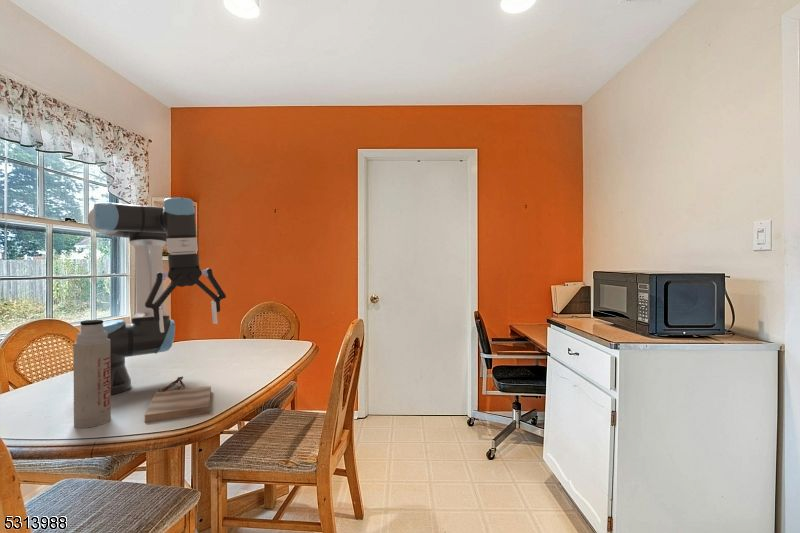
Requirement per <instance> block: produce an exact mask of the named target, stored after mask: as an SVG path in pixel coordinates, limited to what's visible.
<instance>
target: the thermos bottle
mask: <svg viewBox="0 0 800 533" xmlns="http://www.w3.org/2000/svg"><path fill="white" fill-rule="evenodd" d="M103 322H104V320H103V319H90V320H84V321H80V332H78V333H77V334H76V336H75V338H76V341H75V342H73V346H72V347H73V427H74V428H77V429H85V428H87V429H89V428H93V427H97V426H101V425H104V424H106V423H107V422H109V421H110V420H111V418H112V417H111V415H112V413H111V411H112V410H111V409H112V401H111V396H112V395H111V353H110V339H108V338H107V336H108V335H107V331H105V330H103Z"/></svg>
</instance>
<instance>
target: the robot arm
mask: <svg viewBox="0 0 800 533" xmlns="http://www.w3.org/2000/svg"><path fill="white" fill-rule="evenodd" d="M194 204H195V203H194V200H192V199H191V198H187V197H167V198H165V199H164V200H163V206H153V205H135V204H125V203H115V202H110V201H107V202H101V201H100V202H99V201H98V202H95V203H94V205H93V208H92V209H91V210H90V211H89V213H88V215H87V222H88V225H89V226H90V228H91V229H93V230H94V231H95V232H97V233H98V234H102V235H106V236H109V237H115V238H128V240H129V244H130V245H131V246H133V248H134V265H135V267H134V268H135V303H136V304H135V305H136V311H135V312H136V313H135V314H134V315H133V316H132V317H131V322H130V323H129V322H127V323H126V321H125V319H115V320H114V319H111V320H106V321H104V320H103V330H105V331H107V335H108V336H107V338H108V339H110V353H111V396H113V395H115V394H121V393H123V392H125V391H128V390H129V389H131V387H132V379H131V377H130V374H129V372H128V369H127V367H126V358H127V357H136V356H145V355H153V354H154V355H155V354H158V353H164V352H165V353H166V352H168V351H169V350H171V348H172V346H173V344H174V340H175V334H176V322H175V320H174V319H171V318H170V314H169V313H168V312H166V310H165V301H166V300H167V298H169V296H170V295H171V293H172V292H173V291H174V290H175V289H176V287H180V288H183V287H187V286H188V287H191V286H194V285H196V286H198V287H199V288H200V289H201V290H202V291H203V292H205V293H206V294H207V295H208V296H209V297H210V298H211V299H212V300H211V302H210V304H211V317H212V318H211V319H212V323H213V324H214V325H218V323H219V322H218V314H217V313H218V312H219V313H220V311H221V304H220V303H221V300H223V299H226V298H227V294H226V293H225V292H224V291H223V289H222V287H221V285H220V284H219V283H218V281H217V280H216V278H215V276H214V275H213V270H212V268H209V267H208V268H206V269H201V268H200V259H199V258H200V257H199V254H198V253H197V252H198V251H199V247H198V238H197V224H196V209H195V205H194ZM165 245H166V250H167V253H169V254H168V256H167V260H168V271H167V272H163V271H164V267H163V247H164V246H165ZM202 274H203V276H205V277H206V278H207V279H208V281H209V282H210V284H211V286H212V287H213V288H214V289H215V291H216V293H217V294H218V295H217V294H215V293H214V291H212V290H211V289H210V288H209V287H208V286H206V285H205V284H204V282H202V281H201V280H200V277H201V276H202ZM166 278H169V280H170V281H171V282H170V283H169V284H168V286H166V289H165V290H164V281H166Z"/></svg>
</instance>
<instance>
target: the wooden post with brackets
mask: <svg viewBox="0 0 800 533" xmlns="http://www.w3.org/2000/svg"><path fill="white" fill-rule="evenodd" d="M183 379H184V376H178V377H177V378H176V379H175V380H174V381H171V383H169V384H168V385H166V386H165V387H163V388H161V389H160V388H159V389H158V392H164V391H169V389H171V388H172V387H174V386H176V384H180V386H177V387H175V388H174V390H181V388H182V389H183V388H184V389H186V386H185V383H184V382H183Z"/></svg>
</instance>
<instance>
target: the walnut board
mask: <svg viewBox="0 0 800 533" xmlns="http://www.w3.org/2000/svg"><path fill="white" fill-rule="evenodd" d="M211 396H212V386H211V385H209V386H200V387H193V388H191V387H190V388H184V389H183V388H182V389H179V390H175V389H173V390H167V391H164V392H159V391H157V392H155V393H154V396H153V398H152V399H151V401H150V404H149V405H148V408H147V410H146V412H145V414H144V423H149V422H155V421H156V422H157V421H162V420H171V419H178V418H177V417H179V418H184V416H186V417H190V416H191V415H193V416H199V415H198V414H200V415H206V414H205V413H207V414H210V411H211V398H210V397H211Z"/></svg>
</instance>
